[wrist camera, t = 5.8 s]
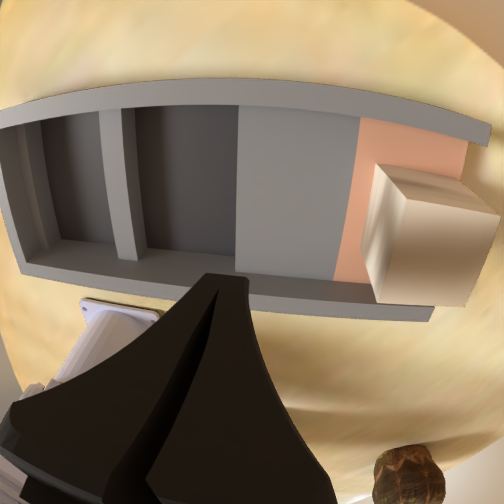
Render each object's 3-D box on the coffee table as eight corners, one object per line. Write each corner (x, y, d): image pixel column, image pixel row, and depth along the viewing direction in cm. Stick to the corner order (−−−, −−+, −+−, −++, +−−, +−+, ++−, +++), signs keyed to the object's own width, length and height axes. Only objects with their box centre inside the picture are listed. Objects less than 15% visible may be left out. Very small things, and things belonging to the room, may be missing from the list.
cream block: (433, 254, 17) (464, 306, 13) (359, 246, 18) (377, 302, 13) (455, 178, 15) (501, 216, 10) (375, 163, 15) (406, 198, 11)
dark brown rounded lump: (447, 444, 35) (458, 508, 25) (391, 469, 40) (396, 528, 30) (420, 431, 33) (432, 509, 22) (357, 459, 38) (358, 529, 28)
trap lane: (411, 284, 21) (428, 321, 17) (48, 247, 23) (21, 273, 20) (456, 112, 14) (491, 124, 11) (22, 103, 17) (-16, 115, 13)
